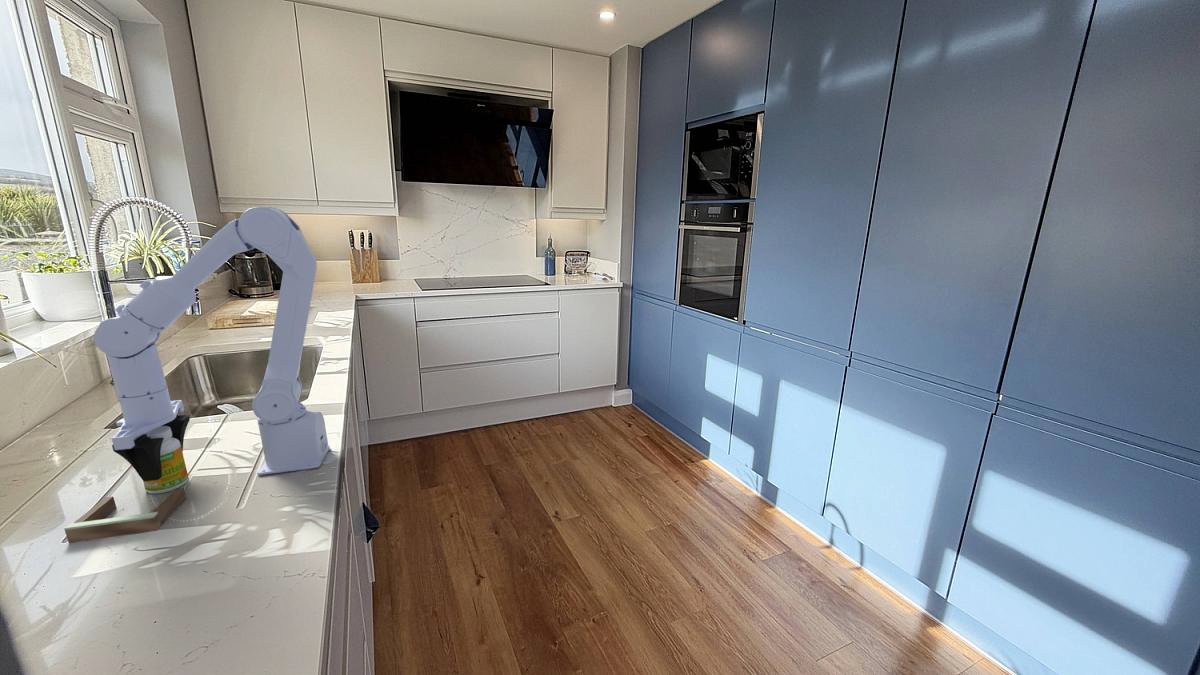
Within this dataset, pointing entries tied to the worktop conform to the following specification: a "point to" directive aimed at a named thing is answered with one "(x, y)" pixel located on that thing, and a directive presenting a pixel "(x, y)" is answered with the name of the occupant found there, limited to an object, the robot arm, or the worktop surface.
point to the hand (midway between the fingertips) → (163, 469)
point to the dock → (121, 519)
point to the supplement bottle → (168, 463)
